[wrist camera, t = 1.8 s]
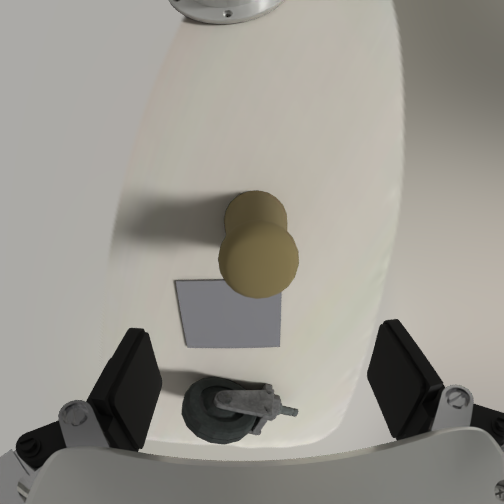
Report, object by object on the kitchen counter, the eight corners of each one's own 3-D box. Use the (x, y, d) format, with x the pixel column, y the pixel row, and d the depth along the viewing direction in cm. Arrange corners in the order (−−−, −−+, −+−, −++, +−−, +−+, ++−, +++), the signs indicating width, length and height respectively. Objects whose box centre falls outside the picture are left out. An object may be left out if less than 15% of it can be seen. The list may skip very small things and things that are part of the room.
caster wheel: (189, 384, 37) (288, 412, 37) (171, 436, 28) (288, 465, 28) (197, 358, 35) (304, 389, 35) (177, 413, 26) (308, 446, 26)
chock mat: (176, 280, 29) (175, 281, 29) (281, 277, 29) (281, 279, 29) (187, 346, 33) (187, 347, 32) (279, 345, 33) (279, 346, 32)
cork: (233, 257, 29) (225, 322, 18) (216, 199, 26) (195, 236, 16) (293, 243, 28) (316, 300, 18) (279, 183, 26) (298, 210, 16)
